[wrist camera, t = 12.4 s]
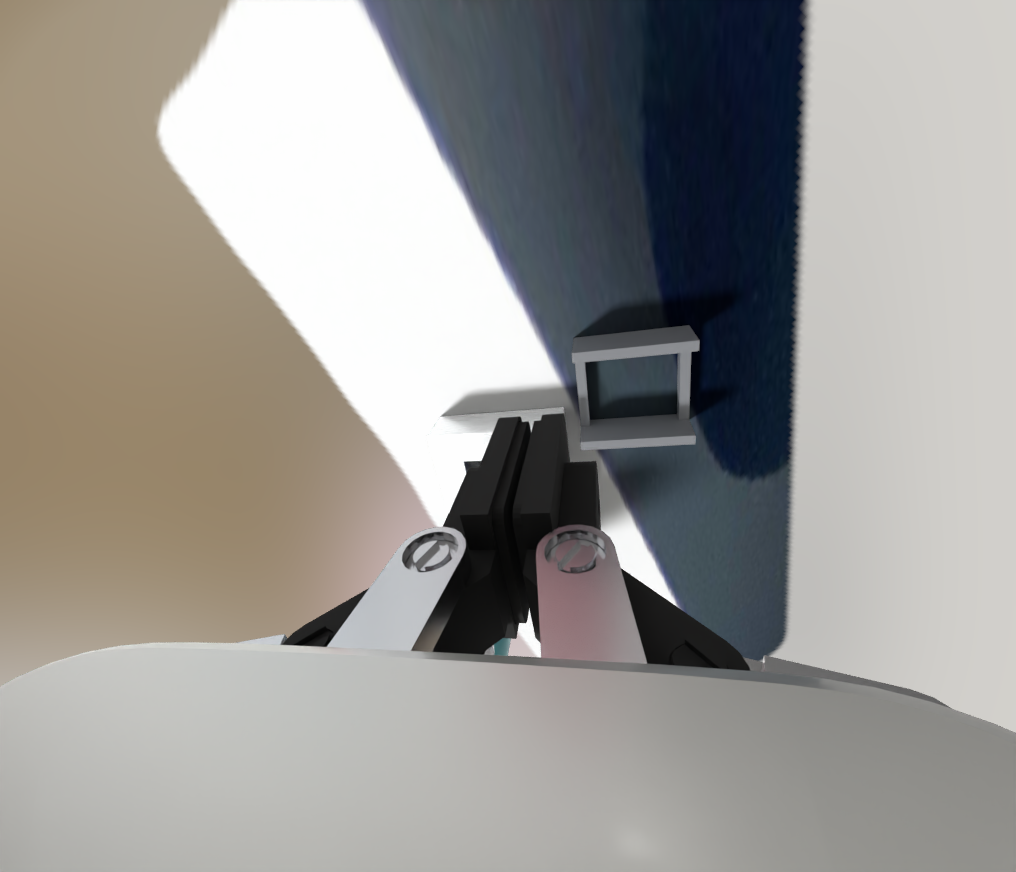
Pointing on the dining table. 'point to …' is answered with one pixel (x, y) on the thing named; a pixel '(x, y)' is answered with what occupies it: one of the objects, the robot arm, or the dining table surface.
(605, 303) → the dining table surface
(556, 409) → the port
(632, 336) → the grey open frame
